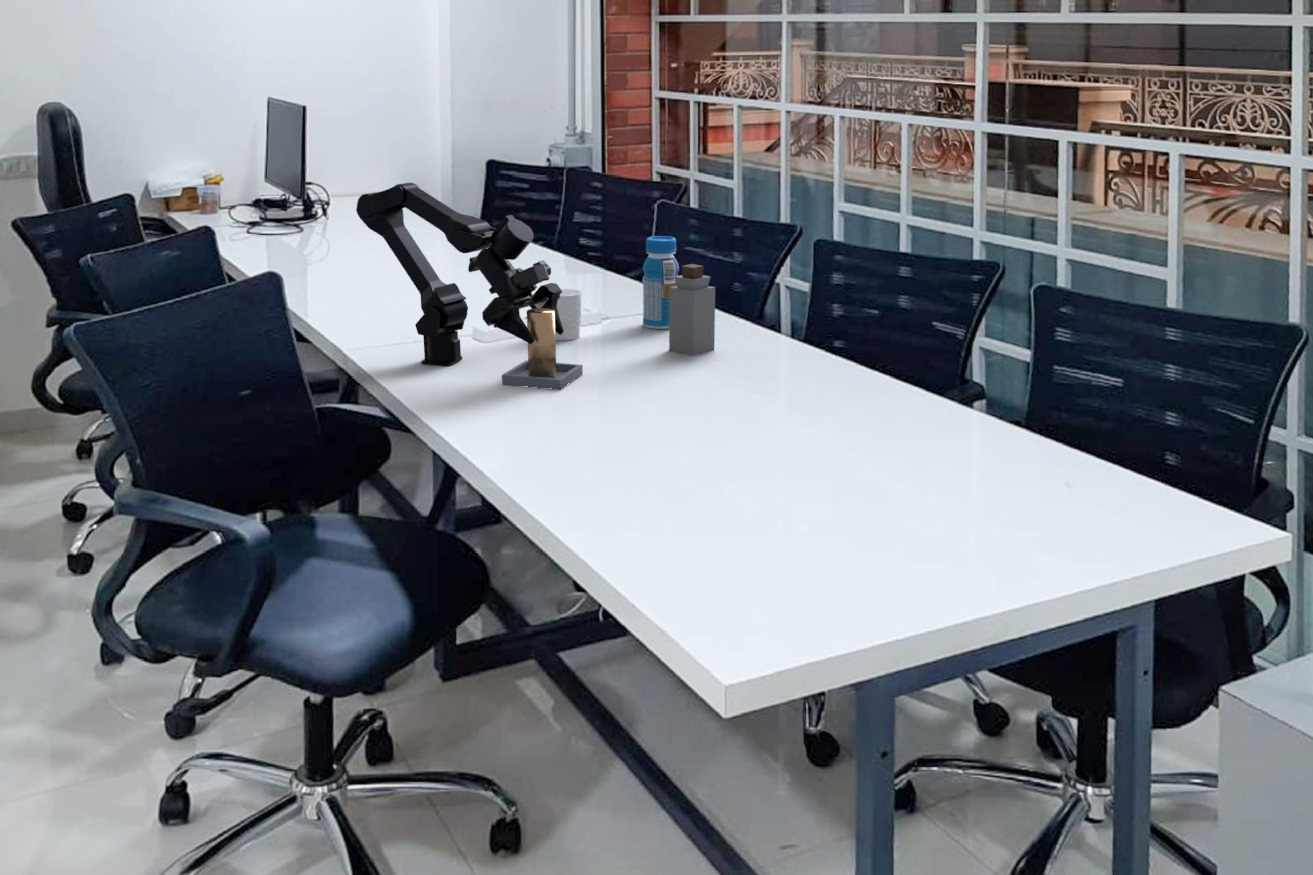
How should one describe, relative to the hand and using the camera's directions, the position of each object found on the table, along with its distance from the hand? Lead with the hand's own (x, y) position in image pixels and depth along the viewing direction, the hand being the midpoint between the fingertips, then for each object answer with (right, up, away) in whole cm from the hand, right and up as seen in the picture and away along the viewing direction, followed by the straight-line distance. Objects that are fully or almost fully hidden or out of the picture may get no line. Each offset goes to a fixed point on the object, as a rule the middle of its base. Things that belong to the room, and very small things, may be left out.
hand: (547, 337), depth 266 cm
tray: (-1, -8, +3) cm, 9 cm away
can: (-1, -7, +3) cm, 8 cm away
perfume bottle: (+28, -1, +27) cm, 39 cm away
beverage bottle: (+22, +6, +48) cm, 54 cm away
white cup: (+1, +3, +38) cm, 38 cm away
